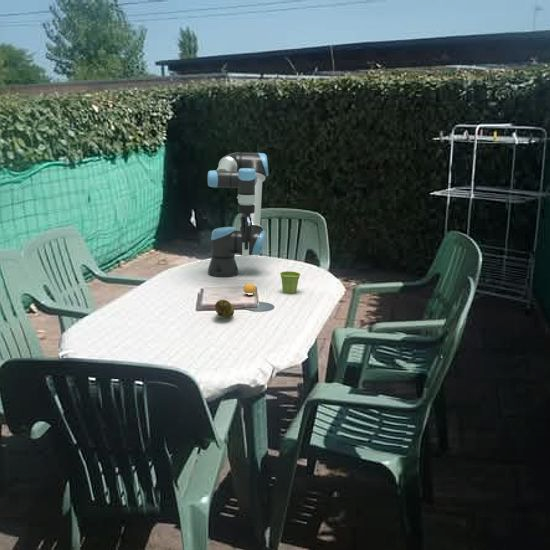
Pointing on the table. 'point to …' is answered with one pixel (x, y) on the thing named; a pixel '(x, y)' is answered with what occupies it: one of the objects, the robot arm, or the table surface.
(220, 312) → the potato
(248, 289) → the ball
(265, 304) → the disc
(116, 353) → the table surface
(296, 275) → the plant pot
